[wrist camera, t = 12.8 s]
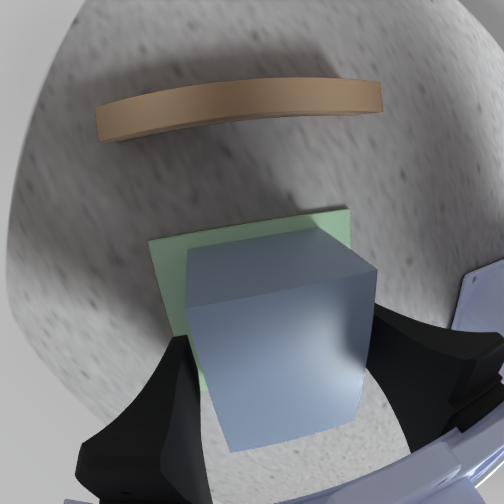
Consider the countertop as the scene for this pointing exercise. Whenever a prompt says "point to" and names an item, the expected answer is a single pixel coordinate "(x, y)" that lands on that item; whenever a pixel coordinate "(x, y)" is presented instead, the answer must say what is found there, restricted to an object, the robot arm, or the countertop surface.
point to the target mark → (175, 247)
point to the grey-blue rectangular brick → (280, 333)
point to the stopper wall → (234, 104)
